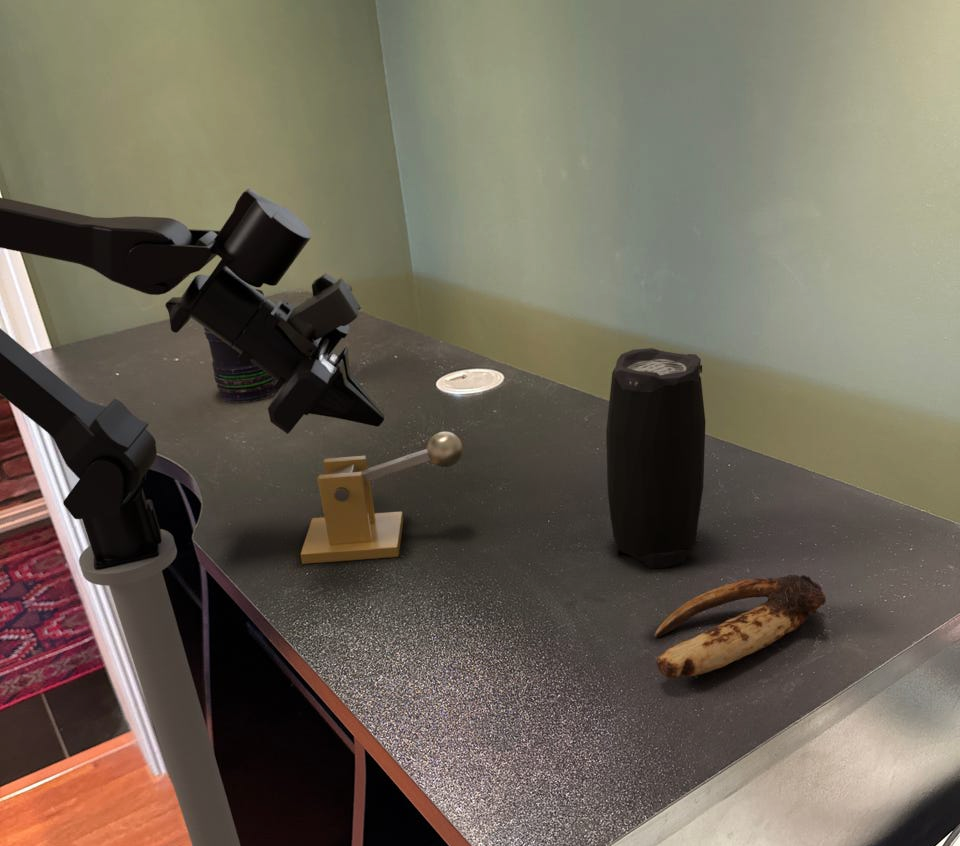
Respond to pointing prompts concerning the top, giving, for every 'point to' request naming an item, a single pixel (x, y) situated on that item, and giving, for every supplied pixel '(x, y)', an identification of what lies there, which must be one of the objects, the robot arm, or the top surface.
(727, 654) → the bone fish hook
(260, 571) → the top surface
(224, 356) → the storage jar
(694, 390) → the portable speaker
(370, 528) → the tap bracket
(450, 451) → the tap lever
